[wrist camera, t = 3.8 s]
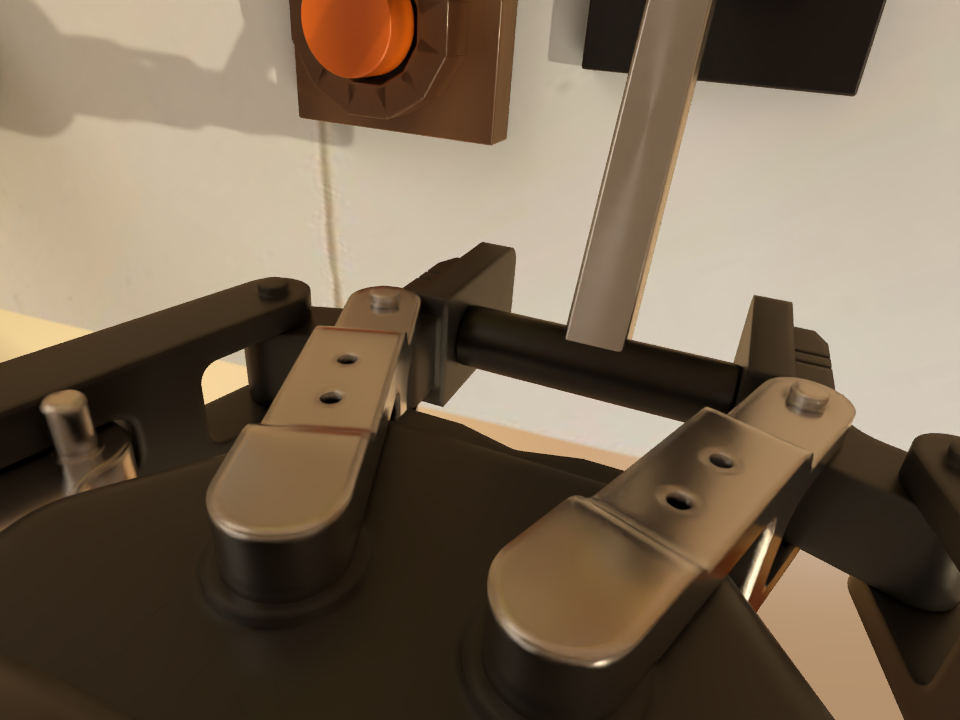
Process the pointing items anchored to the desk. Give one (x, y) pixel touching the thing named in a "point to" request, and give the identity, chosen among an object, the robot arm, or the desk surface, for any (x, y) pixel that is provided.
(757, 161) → the desk surface
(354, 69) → the button
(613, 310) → the lever
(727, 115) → the desk surface
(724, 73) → the lever bracket
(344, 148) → the desk surface
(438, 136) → the button block
